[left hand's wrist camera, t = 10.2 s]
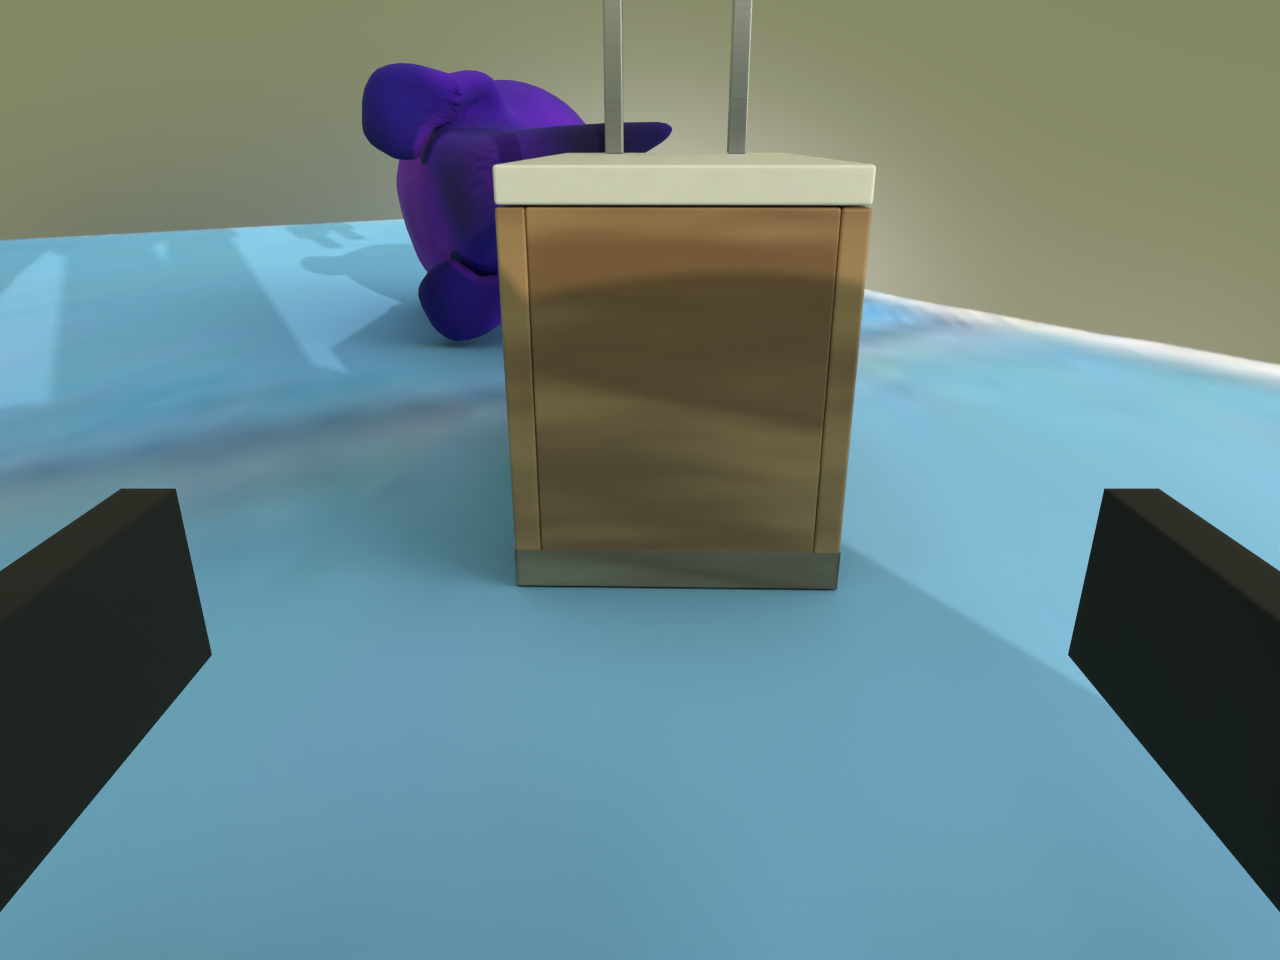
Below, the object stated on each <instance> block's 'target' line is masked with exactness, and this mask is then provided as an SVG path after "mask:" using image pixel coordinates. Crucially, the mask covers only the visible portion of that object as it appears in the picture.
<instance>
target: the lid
mask: <svg viewBox="0 0 1280 960" xmlns="http://www.w3.org/2000/svg"><path fill="white" fill-rule="evenodd" d="M752 2H753V0H732V26H731V55H730V84H729V113H728V142H727V153H623V152H624V127H623V0H603V37H604V105H605V153H564V154H558V155H551V156H545V157H539V158H533V159H527V160H521V161H515V162H509V163H503V164H497V165H494V166H493V168H492V170H493V186H494V201H495V204H497V205H871V204H872V202H873V194H874V183H875V173H876V167H875V166H874V165H872V164H864V163H857V162H849V161H841V160H834V159H826V158H818V157H811V156H803V155H796V154H788V153H746V144H747V121H748V96H749V73H750V49H751V26H752Z"/></svg>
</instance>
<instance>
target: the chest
mask: <svg viewBox="0 0 1280 960" xmlns="http://www.w3.org/2000/svg"><path fill="white" fill-rule="evenodd" d="M871 214H872V211H871V209H870V208H868V207H865V206H862V205H502V206H500V207H497V208H496V209H495V220H496V236H497V253H498V269H499V286H500V302H501V319H502V335H503V351H504V368H505V384H506V401H507V417H508V434H509V450H510V467H511V483H512V500H513V516H514V533H515V563H516V580H517V585H543V586H629V587H716V588H802V589H837V583H838V573H839V562H840V540H841V530H842V519H843V509H844V498H845V488H846V477H847V467H848V456H849V446H850V435H851V425H852V414H853V404H854V393H855V383H856V372H857V362H858V351H859V341H860V330H861V320H862V309H863V299H864V288H865V278H866V267H867V257H868V246H869V236H870V225H871Z"/></svg>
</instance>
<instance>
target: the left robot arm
mask: <svg viewBox="0 0 1280 960" xmlns="http://www.w3.org/2000/svg"><path fill="white" fill-rule="evenodd" d="M211 655H212V653H211V649H210V644H209V640H208V635H207V630H206V626H205V621H204V617H203V612H202V608H201V603H200V598H199V594H198V589H197V585H196V580H195V575H194V571H193V566H192V562H191V557H190V553H189V548H188V543H187V539H186V534H185V530H184V525H183V521H182V516H181V511H180V507H179V502H178V498H177V493H176V489H120V490H119V491H117V492H116V493H114V494H113V495H111V496H110V497H108V498H107V499H106V500H104V501H103V502H101V503H100V504H98V505H97V506H95V507H94V508H92V509H91V510H89V511H88V512H86V513H85V514H84V515H82V516H81V517H79V518H78V519H76V520H75V521H73V522H72V523H70V524H69V525H67V526H66V527H64V528H63V529H62V530H60V531H59V532H57V533H56V534H54V535H53V536H51V537H50V538H48V539H47V540H45V541H44V542H42V543H41V544H40V545H38V546H37V547H35V548H34V549H32V550H31V551H29V552H28V553H26V554H25V555H23V556H22V557H20V558H19V559H18V560H16V561H15V562H13V563H12V564H10V565H9V566H7V567H6V568H4V569H3V570H1V571H0V912H1V910H2V909H3V908H4V907H5V905H6V904H7V903H8V902H9V901H10V899H11V898H12V897H13V896H14V895H15V893H16V892H17V891H18V890H19V888H20V887H21V886H22V885H23V884H24V882H25V881H26V880H27V879H28V878H29V876H30V875H31V874H32V873H33V871H34V870H35V869H36V868H37V867H38V865H39V864H40V863H41V862H42V861H43V859H44V858H45V857H46V856H47V854H48V853H49V852H50V851H51V850H52V848H53V847H54V846H55V845H56V844H57V842H58V841H59V840H60V839H61V837H62V836H63V835H64V834H65V833H66V831H67V830H68V829H69V828H70V827H71V825H72V824H73V823H74V822H75V820H76V819H77V818H78V817H79V816H80V814H81V813H82V812H83V811H84V810H85V808H86V807H87V806H88V805H89V803H90V802H91V801H92V800H93V799H94V797H95V796H96V795H97V794H98V793H99V791H100V790H101V789H102V788H103V786H104V785H105V784H106V783H107V782H108V780H109V779H110V778H111V777H112V776H113V774H114V773H115V772H116V771H117V770H118V768H119V767H120V766H121V765H122V763H123V762H124V761H125V760H126V759H127V757H128V756H129V755H130V754H131V753H132V751H133V750H134V749H135V748H136V746H137V745H138V744H139V743H140V742H141V740H142V739H143V738H144V737H145V736H146V734H147V733H148V732H149V731H150V729H151V728H152V727H153V726H154V725H155V723H156V722H157V721H158V720H159V719H160V717H161V716H162V715H163V714H164V712H165V711H166V710H167V709H168V708H169V706H170V705H171V704H172V703H173V702H174V700H175V699H176V698H177V697H178V695H179V694H180V693H181V692H182V691H183V689H184V688H185V687H186V686H187V685H188V683H189V682H190V681H191V680H192V678H193V677H194V676H195V675H196V674H197V672H198V671H199V670H200V669H201V668H202V666H203V665H204V664H205V663H206V661H207V660H208V659H209V658H210V657H211ZM1068 655H1069V657H1070V658H1071V659H1072V660H1073V661H1074V663H1075V664H1076V665H1077V666H1078V668H1079V669H1080V670H1081V671H1082V672H1083V674H1084V675H1085V676H1086V677H1087V678H1088V680H1089V681H1090V682H1091V683H1092V685H1093V686H1094V687H1095V688H1096V689H1097V691H1098V692H1099V693H1100V694H1101V695H1102V697H1103V698H1104V699H1105V700H1106V702H1107V703H1108V704H1109V705H1110V706H1111V708H1112V709H1113V710H1114V711H1115V712H1116V714H1117V715H1118V716H1119V717H1120V719H1121V720H1122V721H1123V722H1124V723H1125V725H1126V726H1127V727H1128V728H1129V729H1130V731H1131V732H1132V733H1133V734H1134V736H1135V737H1136V738H1137V739H1138V740H1139V742H1140V743H1141V744H1142V745H1143V746H1144V748H1145V749H1146V750H1147V751H1148V753H1149V754H1150V755H1151V756H1152V757H1153V759H1154V760H1155V761H1156V762H1157V763H1158V765H1159V766H1160V767H1161V768H1162V770H1163V771H1164V772H1165V773H1166V774H1167V776H1168V777H1169V778H1170V779H1171V780H1172V782H1173V783H1174V784H1175V785H1176V787H1177V788H1178V789H1179V790H1180V791H1181V793H1182V794H1183V795H1184V796H1185V797H1186V799H1187V800H1188V801H1189V802H1190V803H1191V805H1192V806H1193V807H1194V808H1195V810H1196V811H1197V812H1198V813H1199V814H1200V816H1201V817H1202V818H1203V819H1204V820H1205V822H1206V823H1207V824H1208V825H1209V827H1210V828H1211V829H1212V830H1213V831H1214V833H1215V834H1216V835H1217V836H1218V837H1219V839H1220V840H1221V841H1222V842H1223V844H1224V845H1225V846H1226V847H1227V848H1228V850H1229V851H1230V852H1231V853H1232V854H1233V856H1234V857H1235V858H1236V859H1237V861H1238V862H1239V863H1240V864H1241V865H1242V867H1243V868H1244V869H1245V870H1246V871H1247V873H1248V874H1249V875H1250V876H1251V878H1252V879H1253V880H1254V881H1255V882H1256V884H1257V885H1258V886H1259V887H1260V888H1261V890H1262V891H1263V892H1264V893H1265V895H1266V896H1267V897H1268V898H1269V899H1270V901H1271V902H1272V903H1273V904H1274V905H1275V907H1276V908H1277V909H1278V910H1279V912H1280V571H1279V570H1277V569H1276V568H1274V567H1273V566H1271V565H1270V564H1268V563H1267V562H1265V561H1264V560H1262V559H1261V558H1260V557H1258V556H1257V555H1255V554H1254V553H1252V552H1251V551H1249V550H1248V549H1246V548H1245V547H1243V546H1242V545H1240V544H1239V543H1238V542H1236V541H1235V540H1233V539H1232V538H1230V537H1229V536H1227V535H1226V534H1224V533H1223V532H1221V531H1220V530H1218V529H1217V528H1216V527H1214V526H1213V525H1211V524H1210V523H1208V522H1207V521H1205V520H1204V519H1202V518H1201V517H1199V516H1198V515H1196V514H1195V513H1194V512H1192V511H1191V510H1189V509H1188V508H1186V507H1185V506H1183V505H1182V504H1180V503H1179V502H1177V501H1176V500H1174V499H1173V498H1172V497H1170V496H1169V495H1167V494H1166V493H1164V492H1163V491H1161V490H1160V489H1104V493H1103V498H1102V502H1101V507H1100V511H1099V516H1098V520H1097V525H1096V530H1095V534H1094V539H1093V543H1092V548H1091V553H1090V557H1089V562H1088V566H1087V571H1086V575H1085V580H1084V585H1083V589H1082V594H1081V598H1080V603H1079V608H1078V612H1077V617H1076V621H1075V626H1074V630H1073V635H1072V640H1071V644H1070V649H1069V653H1068Z"/></svg>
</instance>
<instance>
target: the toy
mask: <svg viewBox="0 0 1280 960" xmlns="http://www.w3.org/2000/svg"><path fill="white" fill-rule="evenodd" d="M362 126H363V132H364V134H365V136H366V138H367V139H368V141H369V142H370V143H371V144H372V145H373V146H374V147H376V148H377V149H379V150H380V151H382V152H384V153H386V154H387V155H389V156H391V157H393V158H396V159H399V165H398V172H397V192H398V197H399V202H400V207H401V211H402V214H403V218H404V221H405V225H406V228H407V231H408V233H409V236H410V238H411V241H412V244H413V246H414V249H415V251H416V254H417V256H418V258H419V260H420V262H421V264H422V265H423V267H424V268H425V270H426V271H427V272H428V273H427V274H426V276H425V277H424V279H423V280H422V282H421V284H420V286H419V299H420V302H421V305H422V308H423V309H424V311H425V313H426V315H427V317H428V318H429V320H430V322H431V324H432V325H433V326H434V328H435V329H436V330H437V331H438V332H439V333H441V334H442V335H443V336H444V337H446V338H449V339H451V340H454V341H459V340H469V339H472V338H476V337H479V336H481V335H484V334H486V333H488V332H489V331H491V330H492V329H494V328H495V327H497V326H498V325H499V324H500V323H501V322H502V319H501V302H500V286H499V269H498V253H497V236H496V220H495V209H496V208H497V207H500V206H502V205H497V204H495V201H494V186H493V170H492V168H493V166H494V165H497V164H503V163H509V162H515V161H521V160H527V159H533V158H539V157H545V156H551V155H558V154H564V153H605V123H602V124H585V123H584V122H583V120H582V119H581V118H580V117H579V116H578V115H577V113H576V112H575V111H574V110H572V109H571V108H570V107H569V106H568V105H567V104H566V103H564V102H563V101H562V100H560V99H559V98H558V97H556V96H554V95H553V94H551V93H549V92H547V91H545V90H543V89H541V88H539V87H536V86H533V85H530V84H527V83H523V82H518V81H513V80H495V81H494V80H493V79H492V78H491V77H489V76H488V75H486V74H485V73H482V72H479V71H471V70H464V71H458V72H453V73H445V72H442V71H439V70H435V69H431V68H428V67H424V66H421V65H416V64H408V63H397V64H390V65H386V66H384V67H381V68H378V69H377V70H376V71H375V72H374V73H373V74H372V75H371V76H370V78H369V80H368V82H367V84H366V86H365V89H364V93H363V99H362ZM623 127H624V152H623V153H646V152H647V151H649V150H650V149H652V148H654V147H655V146H657V145H658V144H660V143H662V142H663V141H664V140H665V139H666V138H667V137H668V136H669V135H670V133H671V131H672V128H671V126H669V125H668V124H666V123H660V122H630V123H623Z"/></svg>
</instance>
